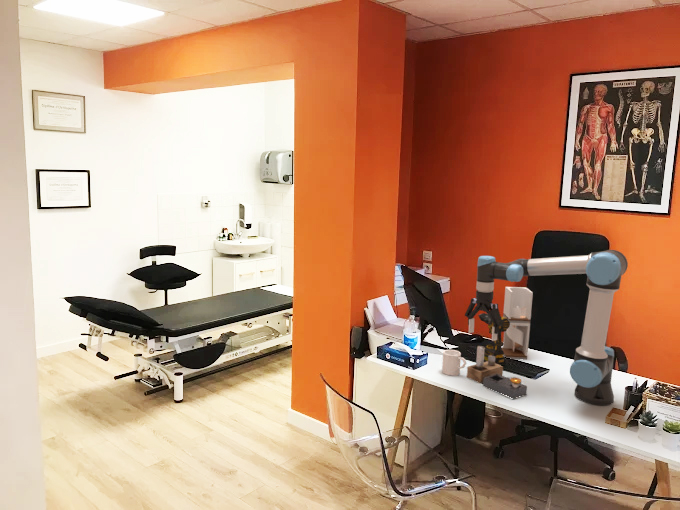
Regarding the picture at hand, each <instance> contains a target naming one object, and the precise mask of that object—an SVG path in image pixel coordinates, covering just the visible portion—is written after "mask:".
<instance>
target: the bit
mask: <svg viewBox="0 0 680 510" xmlns="http://www.w3.org/2000/svg"><path fill="white" fill-rule="evenodd" d="M485 347H486V346H482V345H477V349H476V360H475V362H476V364H475V365H476V370H478V371H482V370H483V363H484V349H485Z"/></svg>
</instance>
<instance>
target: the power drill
mask: <svg viewBox="0 0 680 510" xmlns="http://www.w3.org/2000/svg"><path fill="white" fill-rule="evenodd" d="M478 317H479V320H480V321H481V322H484V323H485V324H486V325H487V328H488V330H489V331H488V333H489V334H490V335H492V326H494V325H493V323H492V321H491V319H490V317H489V315H488V314H487V313H486V312H483V313H480V314H478ZM501 319H502V322H503V326H499V333H498V334H497V340H495V341H492V344H493V345H492V344H487V345H486V346H484V347H485V349H484V362H487V361H488V356H490V355H491V356H495V363H496V364H499V365H502V364H505V365H506V362H507V359H506V358H505V357H504V356H503V355H504V351H503V350H502V349H501V348H502V345H503V343H502V333H504V331H507V329H508V328H509V326H510V322H509V321H508V319H507V318H505V317H503V316H501Z"/></svg>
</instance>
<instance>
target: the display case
mask: <svg viewBox="0 0 680 510" xmlns="http://www.w3.org/2000/svg"><path fill="white" fill-rule="evenodd" d="M533 293H534V292H533V291H531V290H530V289H529V288H528V287H523V286H522V287H521V286H519V287H518V286H505V290H504V302H503V315H502V317H505V318H507V319H508V321H509V322H510V326H509V328H508V329H507V331H504V332H503V343H502V347H501V349H502V350H503V351H504V355H503V356H504V357H506V358H511V359H510V360H520V359H523V360H526V361H527V360H528V353H529V341H530V331H531V318H532V305H533V296H534V295H533ZM506 358H505V359H506Z"/></svg>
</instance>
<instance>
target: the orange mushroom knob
mask: <svg viewBox="0 0 680 510" xmlns="http://www.w3.org/2000/svg"><path fill="white" fill-rule="evenodd" d="M509 379H510V381H511V382H512V387H514V388H519V384H520V383H521V384H522V379H521V378H519V377H511V378H509Z"/></svg>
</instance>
